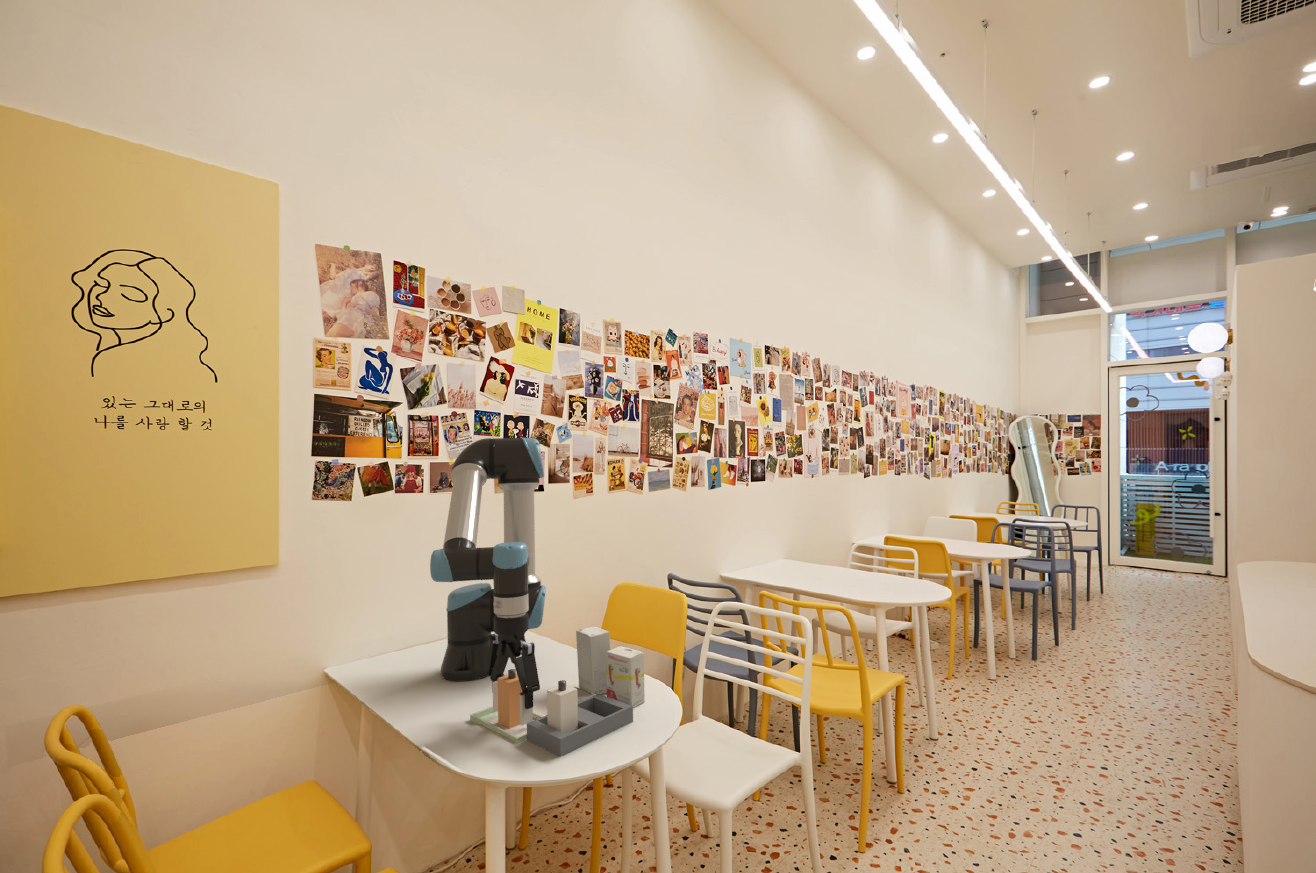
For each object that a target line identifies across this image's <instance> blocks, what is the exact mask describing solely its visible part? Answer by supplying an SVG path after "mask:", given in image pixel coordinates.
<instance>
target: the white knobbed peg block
mask: <svg viewBox="0 0 1316 873" xmlns="http://www.w3.org/2000/svg"><path fill="white" fill-rule="evenodd" d="M557 682H558V683H557V686H554V687H552V688H550V689H547V690H546V700H547V701H546V704H547V706H546V707H547V708H546V709H547V712H546V715H547V721H548V726H550V727H552V728H554V729H557V730H559V731H561V732H563V733H565V734H569V733H571V732H573V731H575V730H577V729H578V702H579V701H578V698H579V697H578V688H576V687H573V686H570V685H568V684H567V681H566V680H564V679H563V680H558V681H557Z"/></svg>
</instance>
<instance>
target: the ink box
mask: <svg viewBox="0 0 1316 873" xmlns="http://www.w3.org/2000/svg"><path fill="white" fill-rule="evenodd" d="M606 677H607V693H606V697H609V698H612V699H615V700H617V701H620V702H623V703H626V704H628V705H631V706H633V708H635V707H637V706H639V705H642V704H643V703H645V695H646V694H645V655H644V653H643V652H642V651H640V650H638V649H637V650H636V649H633V648H629V647H626V646H622V645H620V646H619V645H618V646H617V647H614V648H611V649H610V650H609V651H606Z"/></svg>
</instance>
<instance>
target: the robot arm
mask: <svg viewBox="0 0 1316 873" xmlns="http://www.w3.org/2000/svg"><path fill="white" fill-rule="evenodd" d="M541 450H542V449H541V445H540V441H539V440H538V439H537V438H533V437H500V438H498V437H497V438H494V437H493V438H492V437H491V438H490V437H486V438H481V439H478V440H475V441H473V442H472V443H471V444H469V445H468V446H466V447H465V448H464V449H463V450H462V451H461V452H460V453H459V454H458V456H456V458H455V460H454V462H453V464H452V468H451V472H450V480H451V482H452V490H451V494H450V495H451V497H450V501H449V502H450V503H449V509H448V515H447V520H446V526H445V527H446V528H445V534H444V540H443V545H442V548H439V549H435V550H433V551H432V553H431V556H430V561H429V562H430V563H429V564H430V566H429V569H430V577H431V580H432V581H433V582H435V583H453V582H468V581H489V580H493V588H492V586H491V584H490V583H489V582H488V583H487V582H485V583H484V582H483V583H481V582H480V583H474V584H469V585H464V586H461V587H458V588H456V589H454V590H452V591H451V592H450V593H449V594H448V596H447V603H446V604H447V606H446V614H447V615H446V619H447V622H446V626H447V646H446V649H445V653H444V656H443V658H442V663H441V666H440V676H441V678H443V679H445V680H447V681H452V682H453V681H455V682H465V681H467V682H468V681H474V680H480V679H482V678H486V677H490V679H489V680H490V681H491V684H492V685H491V686H492V689H491V690H492V692H491V693H492V706H493V712H497V711H498V678H500V677H503V676H505V673H504V672H505V669H506V667H507V664H508V661H509V659H510V662H511V664H513V665H514V669H515V670H516V673H517V675H518V679H519V682H520V685H521V689H522V692H521V693H520V724H519V725H521V726H525V725H527V723H529V722H531V721H534V717H533V712H534V710H533V708H534V692H537V691H540V690H541V685H540V684H541V683H540V678H539V673H538V667H537V661H536V654H535V643H534V642H533V641H532V642H527V640H526V638H525V637H526V636H525V634H526V632H527V631H529V630H532V629H533V630H534V629H537V628H540V627H541V625H542V624H543V617H544V610H545V601H546V600H545V599H546V592H547V587H546V585H544V584H542V582H541V581H542V580H541V578H540V577H539V576H538V575H537V574H536V540H535V539H536V538H535V535H536V534H535V531H536V530H535V524H536V523H535V490H536V488H537V487H538V486H539V485H540V479H543V478H544V477H545V472H544V466H543V457H542V451H541ZM490 479H491V480H494V479H497V485H498V487H499V488H500V489H501V490H502V491H503V542H501V543H497V544H495V545H494V546H491V547H490V546H489V547H488V546H487V547H477V539H478V533H479V532H478V531H479V520H480V512H481V502H482V493H483V492H482V491H483V486H484V485H486V482H487V480H490Z"/></svg>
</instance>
